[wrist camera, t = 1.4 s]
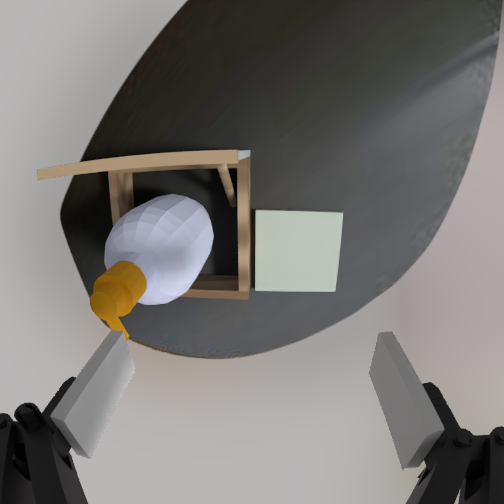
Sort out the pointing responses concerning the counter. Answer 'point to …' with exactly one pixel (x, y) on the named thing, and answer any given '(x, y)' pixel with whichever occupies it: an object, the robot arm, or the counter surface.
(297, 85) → the counter surface
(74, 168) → the lid
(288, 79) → the counter surface
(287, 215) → the trivet
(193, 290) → the frame
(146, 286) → the soap bottle
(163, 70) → the counter surface
